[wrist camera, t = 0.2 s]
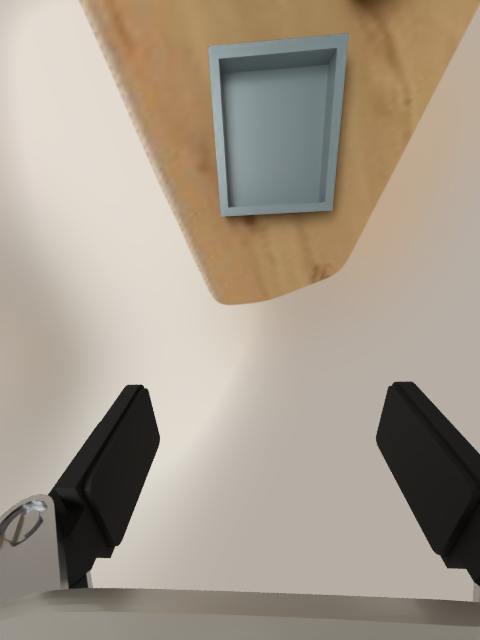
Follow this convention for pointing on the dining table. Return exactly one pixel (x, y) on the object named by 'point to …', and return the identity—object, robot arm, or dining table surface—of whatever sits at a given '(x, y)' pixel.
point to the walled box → (277, 123)
